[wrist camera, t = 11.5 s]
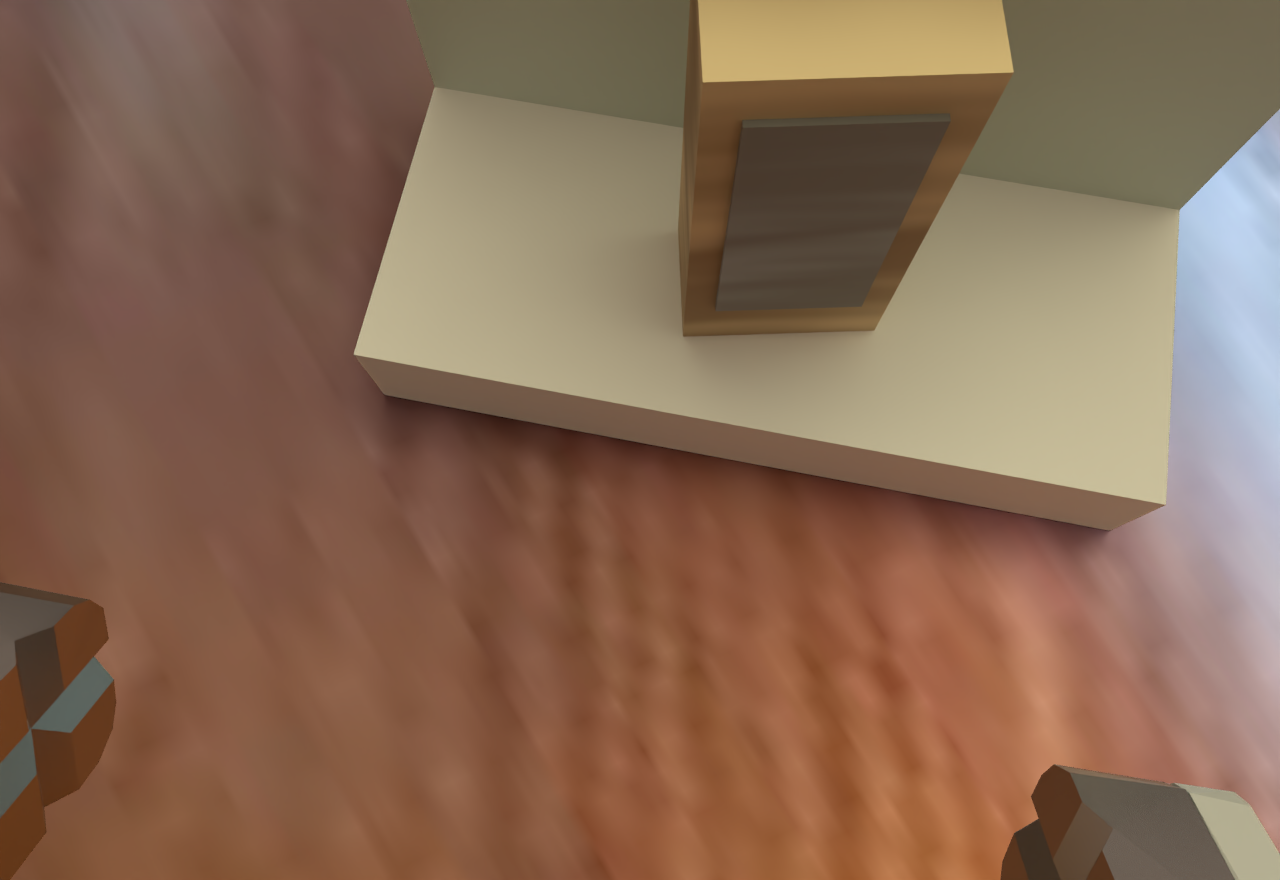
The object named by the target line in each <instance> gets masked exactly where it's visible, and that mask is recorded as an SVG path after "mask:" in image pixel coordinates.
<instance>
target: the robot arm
mask: <svg viewBox="0 0 1280 880" xmlns="http://www.w3.org/2000/svg"><path fill="white" fill-rule="evenodd" d="M108 639H109V637H108V631H107V626H106V620H105V614H104V609H103V607H101V606H99V605H98V604H96V603H94V602H93V601H91V600H88V599H83V598H78V597H73V596H68V595H63V594H58V593H53V592H47V591H42V590H37V589H32V588H27V587H22V586H17V585H12V584H6V583H1V582H0V880H10V879H11V878H12V877H13V875H14V874H15V873H16V871H17V870H18V869H19V868H20V866H21V865H22V864H23V862H24V861H25V860H26V858H27V857H28V856H29V854H30V853H31V852H32V851H33V849H34V848H35V847H36V845H37V844H38V843H39V841H40V840H41V839H42V837H43V836H44V835H45V834H46V822H45V810H44V807H46V806H48V805H50V804H52V803H54V802H56V801H57V800H59V799H61V798H63V797H65V796H67V795H69V794H71V793H73V792H75V791H77V790H79V789H80V787H81V786H82V784H83V783H84V782H85V780H86V779H87V778H88V776H89V775H90V773H91V772H92V771H93V769H94V768H95V767H96V765H97V764H98V762H99V760H100V758H101V756H102V753H103V751H104V748H105V746H106V743H107V741H108V739H109V736H110V734H111V731H112V729H113V722H114V715H115V707H116V695H115V686H114V679H113V678H112V677H111V676H110V675H109V673H108V672H107V671H106V670H105V669H104V668H103V666H102V665H101V664H100V663H99V662H98V661H97V659H96V658H95V657H94V656H95V655H96V653H97V652H98V651H99V650H100V649H101V648H102V646H103V645H104V644H105V643H106V642H107V641H108ZM1031 798H1032V800H1033V803H1034V806H1035V809H1036V812H1037V815H1038V818H1039V819H1038V820H1036V821H1034V822H1032V823H1031V824H1029V825H1027V826H1026V827H1024V828H1022V829H1021V830H1019V831H1017V832H1015V833H1014V835H1013V837H1012V839H1011V842H1010V844H1009V847H1008V849H1007V852H1006V854H1005V857H1004V859H1003V862H1002V871H1001V880H1280V854H1279V852H1278V850H1277V849H1276V847H1275V845H1274V844H1273V842H1272V840H1271V839H1270V837H1269V836H1268V834H1267V832H1266V831H1265V829H1264V827H1263V826H1262V824H1261V822H1260V821H1259V819H1258V817H1257V816H1256V814H1255V812H1254V811H1253V809H1252V808H1251V806H1250V805H1249V804H1248V803H1247V802H1246V801H1245V800H1243V799H1242V798H1241V797H1240V796H1238V795H1237V794H1236V793H1235V792H1231V791H1224V790H1217V789H1211V788H1204V787H1198V786H1191V785H1185V784H1178V783H1172V784H1168V783H1165V782H1159V781H1153V780H1147V779H1141V778H1135V777H1129V776H1123V775H1117V774H1110V773H1104V772H1098V771H1092V770H1086V769H1080V768H1074V767H1067V766H1061V765H1055V764H1054V765H1053V766H1051V767H1050V768H1049V769H1048V770H1047V771H1046V772H1045V773H1043V774H1042V775H1041V777H1040V779H1039V781H1038V784H1037V786H1036V788H1035V790H1034V792H1033V794H1032V796H1031Z"/></svg>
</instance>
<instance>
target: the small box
mask: <svg viewBox="0 0 1280 880" xmlns="http://www.w3.org/2000/svg"><path fill="white" fill-rule="evenodd" d="M1013 73H1014V70H1013V64H1012V58H1011V52H1010V46H1009V40H1008V34H1007V28H1006V22H1005V16H1004V10H1003V4H1002V0H690V9H689V29H688V48H687V67H686V86H685V105H684V124H683V143H682V162H681V181H680V201H679V220H678V241H679V263H680V285H681V307H682V328H683V337H688V336H719V335H750V334H782V333H813V332H845V331H874V330H875V328H876V327H877V325H878V323H879V321H880V319H881V317H882V315H883V314H884V312H885V310H886V308H887V306H888V304H889V303H890V301H891V299H892V297H893V295H894V293H895V291H896V290H897V288H898V286H899V284H900V282H901V280H902V278H903V277H904V275H905V273H906V271H907V269H908V267H909V265H910V264H911V262H912V260H913V258H914V256H915V254H916V253H917V251H918V249H919V247H920V245H921V243H922V241H923V240H924V238H925V236H926V234H927V232H928V230H929V228H930V227H931V225H932V223H933V221H934V219H935V217H936V216H937V214H938V212H939V210H940V208H941V206H942V204H943V203H944V201H945V199H946V197H947V195H948V193H949V191H950V190H951V188H952V186H953V184H954V182H955V180H956V179H957V177H958V175H959V173H960V171H961V169H962V167H963V166H964V164H965V162H966V160H967V158H968V156H969V154H970V153H971V151H972V149H973V147H974V145H975V143H976V142H977V140H978V138H979V136H980V134H981V132H982V130H983V129H984V127H985V125H986V123H987V121H988V119H989V117H990V116H991V114H992V112H993V110H994V108H995V106H996V105H997V103H998V101H999V99H1000V97H1001V95H1002V93H1003V92H1004V90H1005V88H1006V86H1007V84H1008V82H1009V80H1010V79H1011V77H1012V75H1013Z"/></svg>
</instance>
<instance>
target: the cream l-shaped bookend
mask: <svg viewBox="0 0 1280 880" xmlns="http://www.w3.org/2000/svg"><path fill="white" fill-rule="evenodd" d="M406 1H407V4H408V7H409V10H410V13H411V16H412V19H413V22H414V25H415V28H416V31H417V35H418V38H419V41H420V44H421V47H422V50H423V53H424V56H425V59H426V62H427V65H428V68H429V71H430V74H431V77H432V80H433V83H434V86H435V88H434V91H433V94H432V98H431V101H430V104H429V108H428V111H427V114H426V117H425V121H424V124H423V127H422V131H421V134H420V137H419V140H418V144H417V147H416V150H415V154H414V157H413V160H412V164H411V167H410V170H409V173H408V177H407V180H406V183H405V187H404V190H403V193H402V196H401V200H400V203H399V206H398V210H397V213H396V216H395V220H394V223H393V226H392V229H391V233H390V236H389V239H388V243H387V246H386V249H385V252H384V256H383V259H382V262H381V266H380V269H379V272H378V276H377V279H376V282H375V285H374V289H373V292H372V295H371V299H370V302H369V305H368V308H367V312H366V315H365V318H364V322H363V325H362V328H361V332H360V335H359V338H358V341H357V345H356V348H355V351H354V356H355V357H356V358H357V360H358V361H359V362H360V364H361V365H362V366H363V368H364V369H365V370H366V372H367V373H368V374H369V375H370V377H371V378H372V379H373V381H374V382H375V383H376V385H377V386H378V387H379V389H380V390H381V391H382V392H383V394H384V395H388V396H393V397H399V398H404V399H409V400H415V401H420V402H425V403H431V404H436V405H441V406H447V407H452V408H457V409H463V410H468V411H473V412H479V413H484V414H489V415H495V416H500V417H505V418H511V419H516V420H521V421H527V422H532V423H537V424H543V425H548V426H553V427H559V428H564V429H569V430H575V431H580V432H585V433H591V434H596V435H601V436H607V437H612V438H617V439H623V440H628V441H633V442H639V443H644V444H649V445H655V446H660V447H665V448H671V449H676V450H681V451H687V452H692V453H697V454H703V455H708V456H713V457H719V458H724V459H729V460H735V461H740V462H745V463H751V464H756V465H761V466H767V467H772V468H778V469H783V470H788V471H794V472H799V473H804V474H810V475H815V476H820V477H826V478H831V479H836V480H842V481H847V482H852V483H858V484H863V485H868V486H874V487H879V488H884V489H890V490H895V491H900V492H906V493H911V494H916V495H922V496H927V497H932V498H938V499H943V500H948V501H954V502H959V503H964V504H970V505H975V506H980V507H986V508H991V509H996V510H1002V511H1007V512H1012V513H1018V514H1023V515H1028V516H1034V517H1039V518H1044V519H1050V520H1055V521H1060V522H1066V523H1071V524H1076V525H1082V526H1087V527H1092V528H1098V529H1103V530H1108V531H1110V530H1113V529H1115V528H1117V527H1119V526H1121V525H1123V524H1125V523H1128V522H1130V521H1132V520H1134V519H1136V518H1138V517H1141V516H1143V515H1145V514H1147V513H1149V512H1151V511H1153V510H1156V509H1158V508H1160V507H1162V506H1164V505H1166V491H1167V470H1168V448H1169V426H1170V405H1171V383H1172V361H1173V339H1174V318H1175V296H1176V274H1177V252H1178V231H1179V210H1180V209H1181V208H1182V207H1183V206H1184V205H1185V204H1186V203H1187V202H1188V201H1189V200H1190V199H1191V198H1192V197H1193V196H1194V195H1195V194H1196V193H1197V192H1198V191H1199V190H1200V189H1201V188H1202V187H1203V186H1204V185H1205V184H1206V183H1207V182H1208V181H1209V180H1210V179H1211V178H1212V177H1213V175H1214V174H1215V173H1216V172H1217V171H1218V170H1219V169H1220V168H1221V167H1222V166H1223V165H1224V164H1225V163H1226V162H1227V161H1228V160H1229V159H1230V158H1231V157H1232V156H1233V155H1234V154H1235V153H1236V152H1237V151H1238V150H1239V149H1240V148H1241V147H1242V146H1243V145H1244V144H1245V143H1246V142H1247V141H1248V140H1249V139H1250V138H1251V137H1252V136H1253V135H1254V134H1255V133H1256V132H1257V131H1258V130H1259V129H1260V128H1261V127H1262V126H1263V125H1264V124H1265V123H1266V122H1267V121H1268V120H1269V119H1270V118H1271V117H1272V116H1273V115H1274V114H1275V113H1276V112H1277V111H1278V110H1279V109H1280V0H1002V4H1003V10H1004V16H1005V22H1006V28H1007V34H1008V40H1009V46H1010V52H1011V58H1012V64H1013V70H1014V73H1013V75H1012V77H1011V79H1010V80H1009V82H1008V84H1007V86H1006V88H1005V90H1004V92H1003V93H1002V95H1001V97H1000V99H999V101H998V103H997V105H996V106H995V108H994V110H993V112H992V114H991V116H990V117H989V119H988V121H987V123H986V125H985V127H984V129H983V130H982V132H981V134H980V136H979V138H978V140H977V142H976V143H975V145H974V147H973V149H972V151H971V153H970V154H969V156H968V158H967V160H966V162H965V164H964V166H963V167H962V169H961V171H960V173H959V175H958V177H957V179H956V180H955V182H954V184H953V186H952V188H951V190H950V191H949V193H948V195H947V197H946V199H945V201H944V203H943V204H942V206H941V208H940V210H939V212H938V214H937V216H936V217H935V219H934V221H933V223H932V225H931V227H930V228H929V230H928V232H927V234H926V236H925V238H924V240H923V241H922V243H921V245H920V247H919V249H918V251H917V253H916V254H915V256H914V258H913V260H912V262H911V264H910V265H909V267H908V269H907V271H906V273H905V275H904V277H903V278H902V280H901V282H900V284H899V286H898V288H897V290H896V291H895V293H894V295H893V297H892V299H891V301H890V303H889V304H888V306H887V308H886V310H885V312H884V314H883V315H882V317H881V319H880V321H879V323H878V325H877V327H876V328H875V330H874V331H845V332H813V333H782V334H750V335H719V336H688V337H683V328H682V307H681V285H680V263H679V241H678V220H679V201H680V181H681V162H682V143H683V124H684V105H685V86H686V67H687V48H688V29H689V9H690V0H406Z"/></svg>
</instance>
